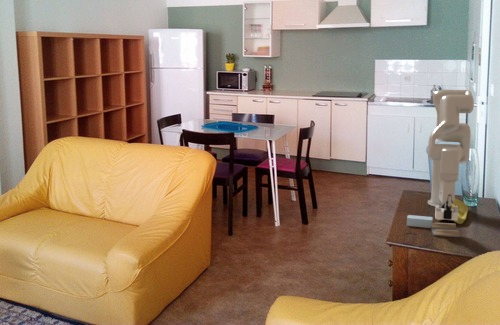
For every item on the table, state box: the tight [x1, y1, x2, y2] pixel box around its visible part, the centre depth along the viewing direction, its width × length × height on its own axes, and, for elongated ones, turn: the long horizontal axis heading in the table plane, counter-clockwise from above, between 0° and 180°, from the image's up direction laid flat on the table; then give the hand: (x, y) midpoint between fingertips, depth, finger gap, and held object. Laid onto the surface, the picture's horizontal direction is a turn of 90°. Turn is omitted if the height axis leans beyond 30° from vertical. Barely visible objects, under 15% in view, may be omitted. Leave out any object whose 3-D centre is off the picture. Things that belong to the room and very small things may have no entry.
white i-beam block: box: [434, 205, 459, 221], centre depth 224 cm, size 5×9×5 cm, turn 73°
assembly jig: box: [430, 222, 461, 238], centre depth 226 cm, size 10×11×3 cm
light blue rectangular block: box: [406, 214, 434, 229], centre depth 236 cm, size 4×11×4 cm, turn 69°
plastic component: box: [437, 197, 469, 225], centre depth 245 cm, size 20×7×10 cm
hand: (446, 216), depth 224 cm, fingers closed on white i-beam block, 5 cm apart
